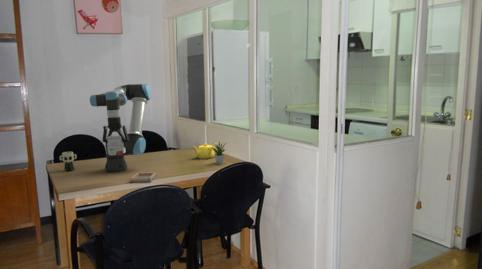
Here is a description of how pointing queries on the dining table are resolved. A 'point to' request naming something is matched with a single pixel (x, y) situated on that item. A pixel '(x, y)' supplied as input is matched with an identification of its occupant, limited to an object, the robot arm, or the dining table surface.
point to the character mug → (68, 160)
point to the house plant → (219, 153)
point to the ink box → (115, 145)
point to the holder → (143, 177)
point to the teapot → (205, 151)
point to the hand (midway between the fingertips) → (116, 152)
